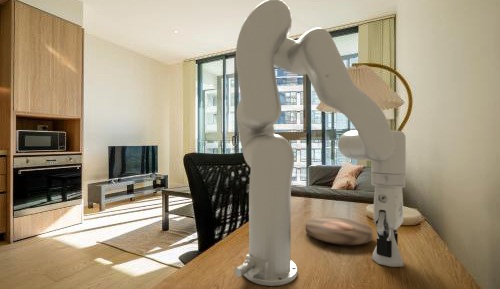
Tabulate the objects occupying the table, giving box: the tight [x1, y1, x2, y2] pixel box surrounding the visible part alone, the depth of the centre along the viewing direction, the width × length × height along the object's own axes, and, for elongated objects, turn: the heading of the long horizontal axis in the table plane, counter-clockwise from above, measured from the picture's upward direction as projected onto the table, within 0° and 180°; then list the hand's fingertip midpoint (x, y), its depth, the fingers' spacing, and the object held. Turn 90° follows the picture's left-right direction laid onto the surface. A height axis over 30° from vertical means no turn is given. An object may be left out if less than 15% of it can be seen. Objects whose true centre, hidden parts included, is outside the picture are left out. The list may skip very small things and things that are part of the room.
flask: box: [371, 224, 404, 268], centre depth 64 cm, size 7×7×10 cm
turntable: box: [304, 216, 374, 246], centre depth 80 cm, size 20×20×2 cm
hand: (387, 250), depth 64 cm, fingers open, 5 cm apart
